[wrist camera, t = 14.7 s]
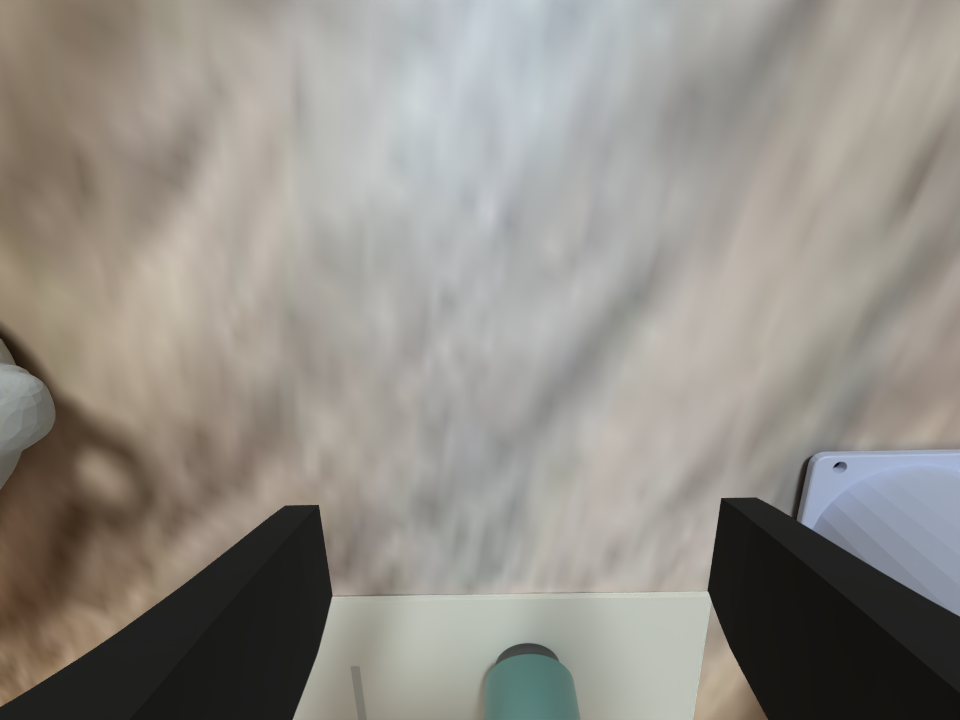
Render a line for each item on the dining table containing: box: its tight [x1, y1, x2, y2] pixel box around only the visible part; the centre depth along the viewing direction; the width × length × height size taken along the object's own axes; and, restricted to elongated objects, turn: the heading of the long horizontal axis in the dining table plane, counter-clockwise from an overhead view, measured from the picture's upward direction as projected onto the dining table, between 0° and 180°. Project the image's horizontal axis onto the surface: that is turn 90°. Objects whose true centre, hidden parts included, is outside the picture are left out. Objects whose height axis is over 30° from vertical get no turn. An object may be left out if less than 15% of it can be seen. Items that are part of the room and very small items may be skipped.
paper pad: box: [293, 591, 711, 720], centre depth 25 cm, size 20×14×1 cm
